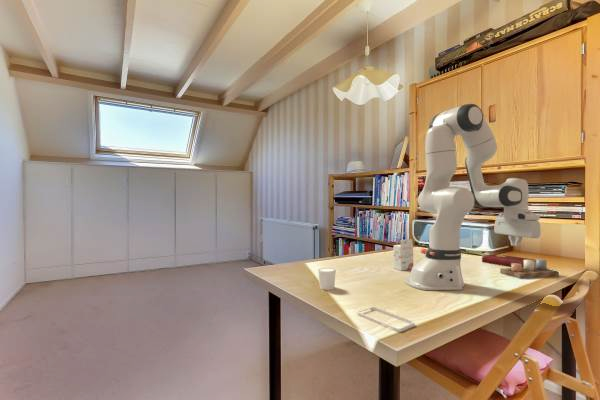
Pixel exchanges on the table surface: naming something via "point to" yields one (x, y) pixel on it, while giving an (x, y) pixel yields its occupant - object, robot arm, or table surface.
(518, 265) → the terracotta button
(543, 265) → the slate-grey button
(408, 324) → the beige elongated ring
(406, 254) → the ink cartridge box
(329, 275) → the shot glass
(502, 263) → the hardcover book
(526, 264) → the cream button
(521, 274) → the button board
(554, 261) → the table surface
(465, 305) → the table surface
